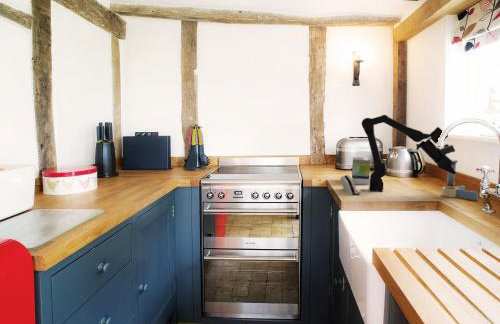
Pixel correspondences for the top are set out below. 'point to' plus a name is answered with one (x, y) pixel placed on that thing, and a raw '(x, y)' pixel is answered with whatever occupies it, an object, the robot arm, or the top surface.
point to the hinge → (349, 185)
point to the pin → (451, 176)
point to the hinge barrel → (459, 193)
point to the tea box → (361, 170)
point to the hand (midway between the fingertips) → (454, 173)
